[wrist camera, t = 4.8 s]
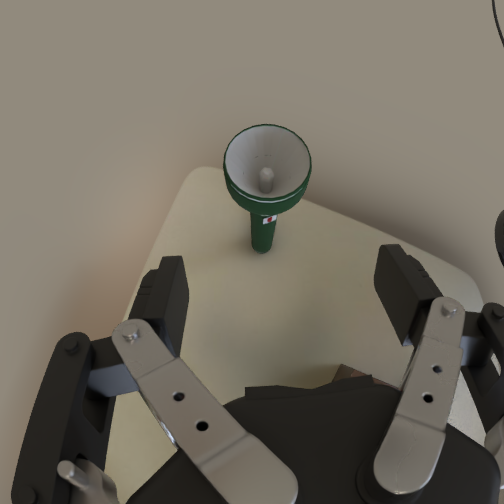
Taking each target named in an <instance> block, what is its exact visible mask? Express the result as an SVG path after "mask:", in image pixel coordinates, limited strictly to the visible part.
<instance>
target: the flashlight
mask: <svg viewBox="0 0 504 504" xmlns="http://www.w3.org/2000/svg"><path fill="white" fill-rule="evenodd" d="M311 168H312V165H311V156H310V153H309V150H308V148H307V146H306V144H305V143H304V141H303V140H302V139H301V138H300V137H299V136H298V135H296V134H295V133H294V132H293V131H290V130H289V129H287V128H285V127H282V126H278V125H272V124H261V125H255V126H252V127H250V128H247V129H244V130H243V131H241V132H240V133H238V134H237V135H236V136H235V137H234V138H233V139H232V141H231V142H230V143H229V144H228V147H227V149H226V152H225V154H224V163H223V169H224V176H225V181H226V185H227V189H228V191H229V193H230V195H231V196H232V198H233V199H234V200H235V202H236V203H237V204H238V205H239V206H241V207H242V208H244V209H245V210H247V211H249V212H250V215H251V237H252V247H253V249H254V250H255V251H256V252H257V253H260V254H263V253H266V252H268V251H269V250H270V248H271V245H272V240H273V235H274V230H275V225H276V220H277V215H278V214H280V213H283V212H285V211H287V210H289V209H291V208H292V207H293V206H294V205H295V204H297V203H298V202H299V201H300V199H301V197H302V196H303V194H304V192H305V190H306V188H307V185H308V181H309V178H310V174H311Z"/></svg>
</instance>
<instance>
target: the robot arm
mask: <svg viewBox="0 0 504 504" xmlns="http://www.w3.org/2000/svg"><path fill="white" fill-rule="evenodd" d="M492 6H493V13H494V18H495V22H496V26H497V29H498V32H499V35H500V38H501V41H502V43H503V46H504V38H503V36H502V33H501V30H500V27H499V23H498V20H497V15H496V10H495V2H494V0H492ZM374 286H375V290H376V292H377V294H378V296H379V298H380V300H381V302H382V304H383V306H384V308H385V310H386V312H387V314H388V317H389V319H390V321H391V323H392V325H393V327H394V329H395V331H396V334H397V336H398V338H399V340H400V342H401V345H402V346H407V345H413V346H414V350H413V352H412V355H411V357H410V360H409V363H408V365H407V368H406V371H405V373H404V376H403V378H402V381H401V383H400V386H399V388H398V389H396V388H394V387H391V386H388V385H384V384H378V383H374V381H373V377H372V374H371V375H364V376H358V377H351V378H344V379H340V380H337V381H335V382H332V383H329V384H326V385H324V386H321V387H318V388H315V389H302V388H294V387H286V386H278V385H276V386H260V387H245V396H244V397H241V398H238V399H235V400H233V401H231V402H229V403H227V404H225V405H223V406H222V405H221V404H220V403H219V402H218V401H217V399H216V398H215V397H214V396H213V395H212V394H211V393H210V392H209V390H208V389H207V388H206V387H205V386H204V385H203V384H202V382H201V381H200V380H199V379H198V378H197V377H196V375H195V374H194V373H193V372H192V371H191V369H190V368H189V367H188V366H187V365H186V364H185V362H184V361H183V360H182V359H181V358H180V350H181V344H182V338H183V332H184V326H185V320H186V315H187V309H188V303H189V288H188V283H187V278H186V273H185V268H184V263H183V258H182V256H166V257H162V260H161V262H160V265H159V268H158V269H154V270H150V271H149V272H148V273H147V274H146V275H145V276H144V277H143V279H142V282H141V285H140V288H139V290H138V292H137V296H136V298H135V301H134V303H133V306H132V309H131V312H130V314H129V317H128V320H126V321H124V322H122V323H120V324H119V325H118V326H117V327H116V328H115V329H114V331H113V333H112V336H110V337H107V338H103V339H99V340H95V341H90V340H89V337H88V336H87V335H86V334H84V333H81V332H74V333H70V334H68V335H66V336H64V337H63V338H61V339H60V341H59V342H58V343H57V345H56V347H55V349H54V352H53V354H52V357H51V359H50V362H49V364H48V367H47V370H46V372H45V375H44V378H43V381H42V383H41V386H40V389H39V392H38V395H37V398H36V401H35V404H34V407H33V410H32V413H31V416H30V420H29V423H28V426H27V430H26V433H25V437H24V440H23V444H22V448H21V451H20V455H19V459H18V463H17V468H16V472H15V476H14V481H13V486H12V491H11V499H12V504H120V503H119V501H118V498H117V489H116V485H115V483H114V481H113V480H112V479H111V478H110V477H109V476H108V475H107V474H105V473H104V469H105V462H106V455H107V448H108V441H109V435H110V429H111V423H112V417H113V412H114V406H115V401H116V396H117V395H121V394H125V393H130V392H134V391H138V392H139V394H140V395H141V397H142V398H143V400H144V401H145V403H146V405H147V406H148V408H149V409H150V411H151V412H152V414H153V415H154V417H155V418H156V420H157V421H158V423H159V424H160V426H161V427H162V429H163V430H164V432H165V433H166V435H167V436H168V438H169V439H170V441H171V442H172V443H173V445H174V446H175V448H176V449H177V450H178V451H177V452H176V453H175V454H174V455H173V456H172V457H171V458H170V459H169V460H168V461H167V462H166V463H165V464H164V465H163V466H162V467H161V468H160V469H159V470H158V471H157V472H156V473H155V474H154V475H153V476H152V477H151V478H150V479H149V480H148V481H147V482H145V483H144V484H143V485H142V486H141V487H140V488H139V489H138V490H137V491H136V492H135V493H134V494H133V495H132V496H131V497H130V498H129V499H128V501H127V502H126V504H498V499H499V492H500V489H502V488H504V307H503V306H501V305H500V304H497V303H487V304H485V305H484V306H483V308H482V311H481V313H477V312H468V311H465V310H464V307H463V306H462V305H461V304H460V303H459V302H458V301H456V300H455V299H452V298H449V297H444V296H443V295H442V293H441V292H440V290H439V289H438V287H437V286H436V284H435V283H434V282H433V280H432V279H431V277H429V275H428V273H427V272H426V271H425V269H424V268H423V266H422V265H421V263H420V262H419V261H418V260H416V259H415V258H413V257H412V256H411V255H407V254H406V253H405V252H404V250H403V249H402V247H401V246H400V245H399V244H388V245H381V246H380V248H379V253H378V258H377V263H376V269H375V274H374ZM493 353H494V354H495V355H496V357H497V359H498V361H499V363H500V366H501V374H500V376H499V374H498V372H497V370H496V368H495V366H494V364H493V362H492V360H491V357H492V355H493ZM460 370H461V372H462V374H463V376H464V379H465V381H466V383H467V386H468V388H469V391H470V393H471V396H472V398H473V400H474V403H475V406H476V408H477V411H478V413H479V416H480V419H481V421H482V424H483V427H484V430H485V432H486V437H485V441H484V447H485V448H484V447H483V446H481V445H480V444H478V443H477V442H475V441H474V440H472V439H471V438H469V437H468V436H466V435H465V434H463V433H462V432H461V431H459V430H458V429H456V428H455V427H453V426H452V425H450V424H449V423H447V420H448V417H449V413H450V410H451V406H452V402H453V398H454V394H455V390H456V386H457V382H458V377H459V373H460Z"/></svg>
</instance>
